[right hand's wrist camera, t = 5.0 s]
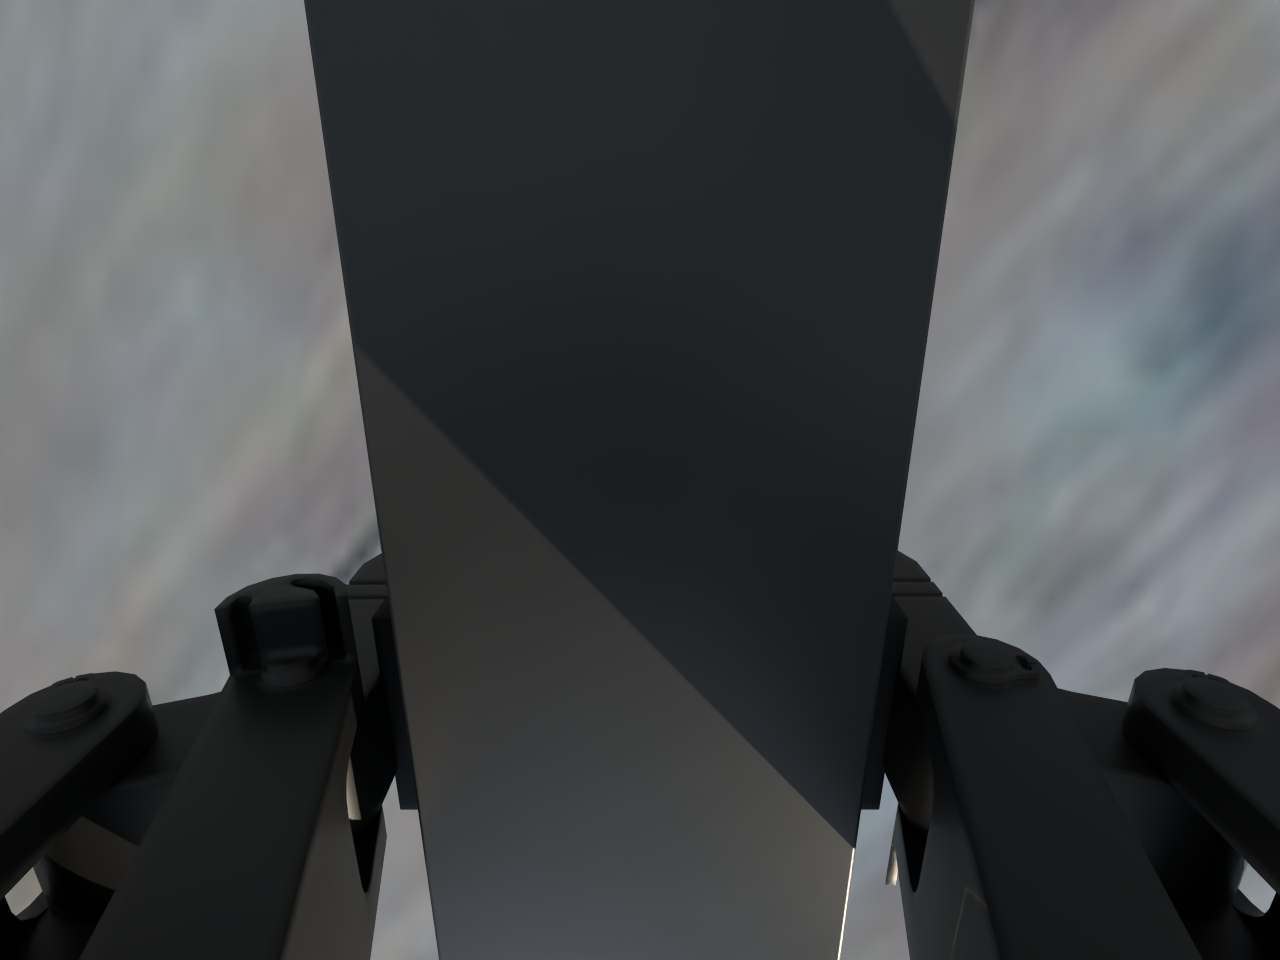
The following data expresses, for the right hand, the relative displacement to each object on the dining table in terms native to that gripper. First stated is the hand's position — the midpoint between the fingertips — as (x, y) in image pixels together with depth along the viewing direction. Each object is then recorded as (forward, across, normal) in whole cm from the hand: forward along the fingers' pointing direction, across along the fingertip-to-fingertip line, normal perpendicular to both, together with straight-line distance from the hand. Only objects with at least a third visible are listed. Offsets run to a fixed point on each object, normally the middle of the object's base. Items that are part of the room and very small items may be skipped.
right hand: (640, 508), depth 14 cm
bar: (+1, 0, -13) cm, 13 cm away
